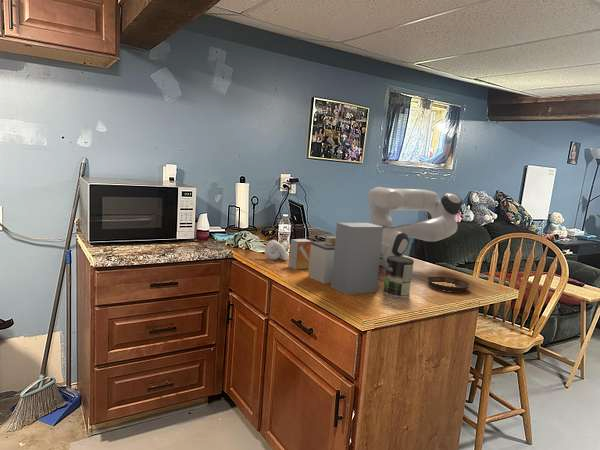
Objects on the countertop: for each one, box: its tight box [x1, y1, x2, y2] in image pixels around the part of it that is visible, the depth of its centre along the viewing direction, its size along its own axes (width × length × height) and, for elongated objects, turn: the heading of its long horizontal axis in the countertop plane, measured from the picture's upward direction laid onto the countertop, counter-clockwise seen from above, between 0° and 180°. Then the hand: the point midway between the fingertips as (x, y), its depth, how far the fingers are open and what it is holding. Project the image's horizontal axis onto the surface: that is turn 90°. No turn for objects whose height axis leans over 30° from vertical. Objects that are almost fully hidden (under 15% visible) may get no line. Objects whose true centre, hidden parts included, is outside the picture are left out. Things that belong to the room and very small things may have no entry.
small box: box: [288, 238, 313, 270], centre depth 196 cm, size 8×6×13 cm
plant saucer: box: [426, 275, 471, 293], centre depth 182 cm, size 18×18×3 cm
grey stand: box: [330, 222, 383, 295], centre depth 166 cm, size 15×10×26 cm, turn 120°
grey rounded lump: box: [264, 239, 289, 261], centre depth 210 cm, size 11×12×9 cm
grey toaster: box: [307, 241, 335, 285], centre depth 181 cm, size 18×12×15 cm, turn 120°
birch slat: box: [325, 235, 336, 245], centre depth 182 cm, size 19×4×3 cm, turn 120°
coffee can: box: [382, 256, 415, 299], centre depth 166 cm, size 10×10×14 cm
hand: (356, 234), depth 185 cm, fingers open, 7 cm apart
